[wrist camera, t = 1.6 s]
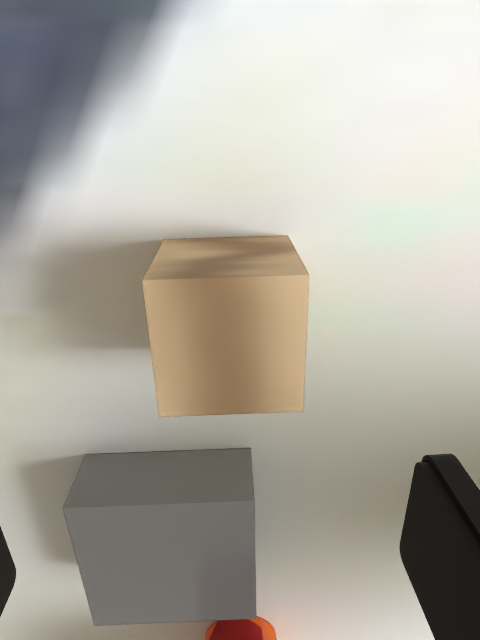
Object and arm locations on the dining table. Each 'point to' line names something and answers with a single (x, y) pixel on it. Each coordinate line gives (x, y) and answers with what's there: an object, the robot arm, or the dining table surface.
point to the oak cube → (227, 325)
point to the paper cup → (241, 630)
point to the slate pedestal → (165, 535)
